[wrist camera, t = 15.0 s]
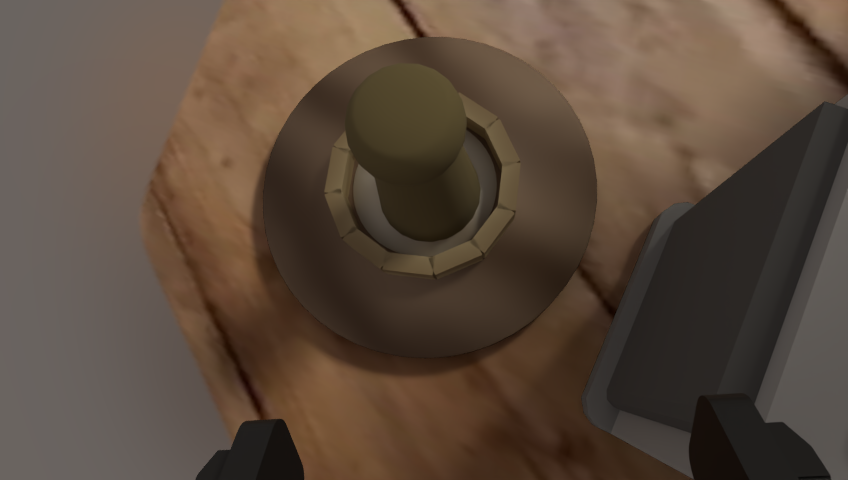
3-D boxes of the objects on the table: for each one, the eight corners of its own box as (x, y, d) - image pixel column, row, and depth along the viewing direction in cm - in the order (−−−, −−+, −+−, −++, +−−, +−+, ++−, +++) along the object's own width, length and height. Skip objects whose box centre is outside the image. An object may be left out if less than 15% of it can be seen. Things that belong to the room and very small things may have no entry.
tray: (400, -4, 37) (393, -32, 35) (660, 155, 32) (675, 136, 30) (208, 227, 35) (185, 215, 32) (458, 432, 30) (455, 438, 28)
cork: (444, 261, 31) (420, 206, 21) (359, 209, 33) (296, 131, 22) (500, 175, 32) (504, 80, 21) (415, 127, 33) (379, 15, 23)
